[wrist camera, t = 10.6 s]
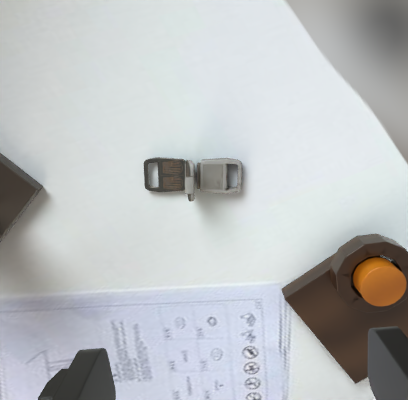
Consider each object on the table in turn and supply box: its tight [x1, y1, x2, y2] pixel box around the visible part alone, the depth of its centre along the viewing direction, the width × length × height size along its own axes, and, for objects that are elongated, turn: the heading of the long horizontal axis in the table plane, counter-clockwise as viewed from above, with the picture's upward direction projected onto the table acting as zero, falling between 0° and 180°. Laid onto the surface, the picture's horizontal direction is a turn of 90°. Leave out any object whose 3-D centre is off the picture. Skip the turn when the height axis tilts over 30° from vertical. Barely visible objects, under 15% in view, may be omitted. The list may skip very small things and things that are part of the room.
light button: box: [353, 257, 406, 306], centre depth 29 cm, size 4×4×2 cm
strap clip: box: [144, 157, 242, 201], centre depth 29 cm, size 8×3×4 cm, turn 90°
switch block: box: [282, 234, 408, 383], centre depth 32 cm, size 13×11×4 cm
